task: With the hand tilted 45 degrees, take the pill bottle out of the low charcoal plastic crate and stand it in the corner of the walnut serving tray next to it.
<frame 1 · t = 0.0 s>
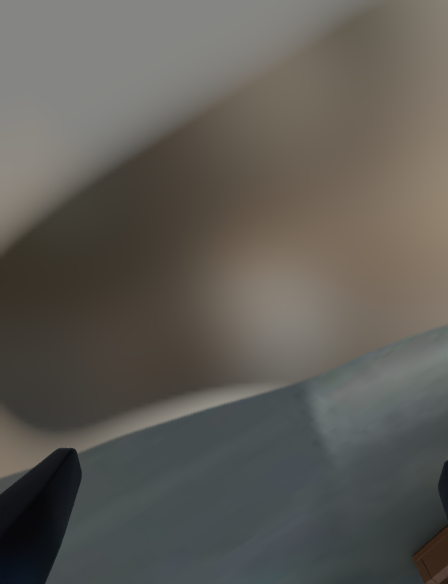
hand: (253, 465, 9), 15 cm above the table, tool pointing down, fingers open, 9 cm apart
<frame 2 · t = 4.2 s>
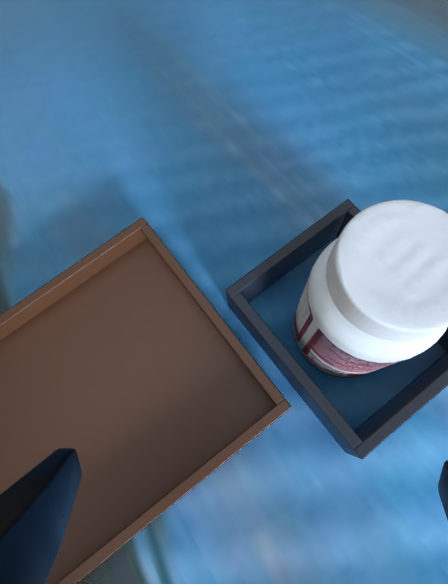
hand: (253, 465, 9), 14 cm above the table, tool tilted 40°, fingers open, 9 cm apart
pill bottle: (339, 329, 25), resting in crate
tray: (72, 417, 24), on the table
crate: (340, 328, 24), on the table
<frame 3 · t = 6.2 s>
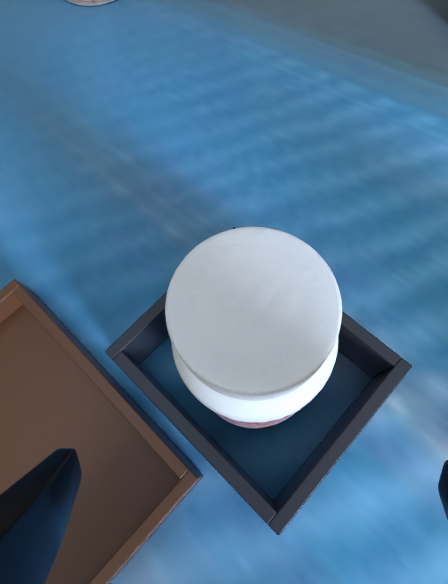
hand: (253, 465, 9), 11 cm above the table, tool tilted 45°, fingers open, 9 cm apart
pill bottle: (253, 371, 22), resting in crate
crate: (253, 371, 21), on the table
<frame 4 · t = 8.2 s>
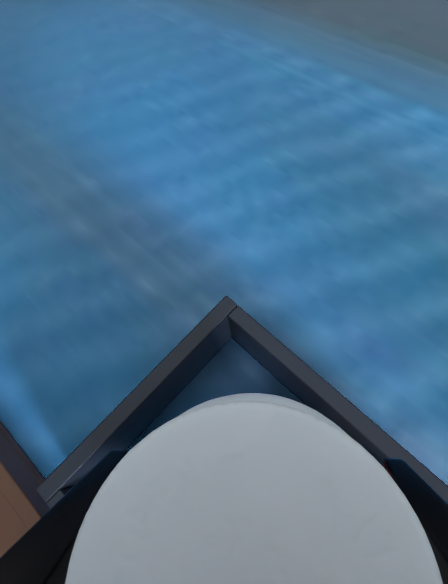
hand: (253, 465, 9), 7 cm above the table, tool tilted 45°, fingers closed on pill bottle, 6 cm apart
pill bottle: (252, 491, 16), resting in crate, touching gripper
crate: (252, 492, 16), on the table
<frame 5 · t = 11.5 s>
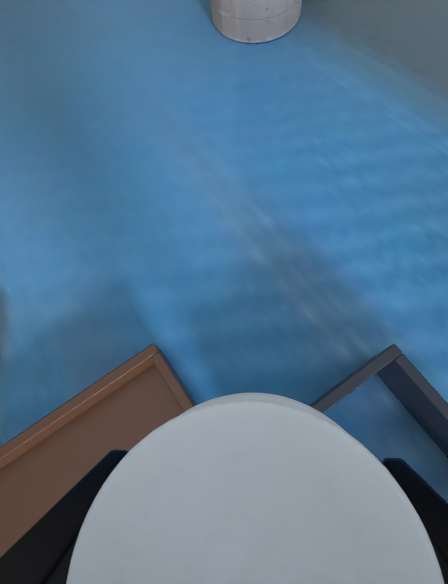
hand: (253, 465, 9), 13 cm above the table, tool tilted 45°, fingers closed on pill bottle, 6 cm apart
pill bottle: (253, 491, 16), point 6 cm above the table, touching gripper
thermos bottle: (255, 14, 35), on the table
crate: (380, 491, 21), on the table
when the fingers open (8 cm above the table, at t = 14.8 s): pill bottle stays where it is, resting on tray.
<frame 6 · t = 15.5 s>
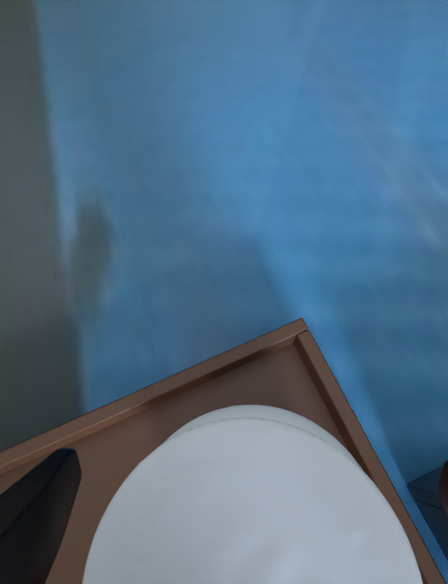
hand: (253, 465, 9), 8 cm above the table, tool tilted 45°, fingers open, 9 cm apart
pill bottle: (253, 495, 16), resting on tray
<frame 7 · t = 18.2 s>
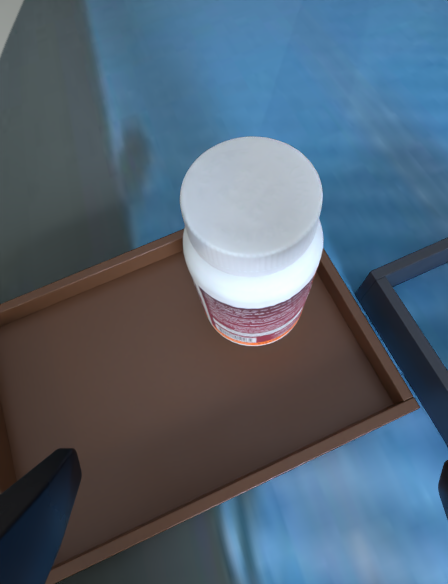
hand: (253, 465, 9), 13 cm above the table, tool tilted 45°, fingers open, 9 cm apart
pill bottle: (252, 301, 24), resting on tray
tray: (177, 367, 23), on the table
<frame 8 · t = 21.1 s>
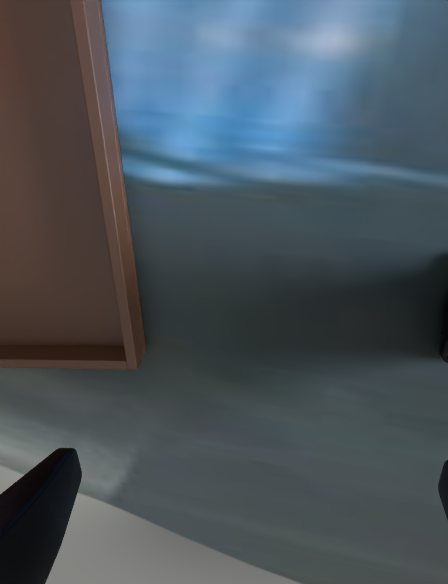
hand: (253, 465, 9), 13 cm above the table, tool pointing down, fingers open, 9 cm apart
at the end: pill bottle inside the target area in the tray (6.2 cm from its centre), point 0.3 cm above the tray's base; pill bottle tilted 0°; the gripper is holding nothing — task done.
